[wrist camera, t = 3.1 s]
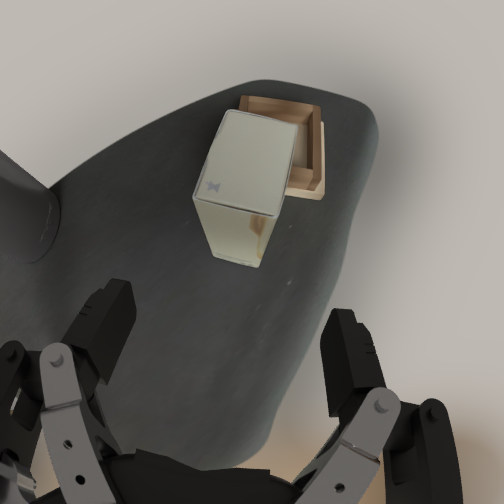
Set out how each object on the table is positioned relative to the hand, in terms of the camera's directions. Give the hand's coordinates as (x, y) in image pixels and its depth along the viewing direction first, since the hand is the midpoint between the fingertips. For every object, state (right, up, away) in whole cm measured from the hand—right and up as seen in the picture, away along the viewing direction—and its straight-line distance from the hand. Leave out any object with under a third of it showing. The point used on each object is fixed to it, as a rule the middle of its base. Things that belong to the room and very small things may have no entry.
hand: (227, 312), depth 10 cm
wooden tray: (+3, +12, +16) cm, 21 cm away
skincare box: (0, +4, +15) cm, 16 cm away
